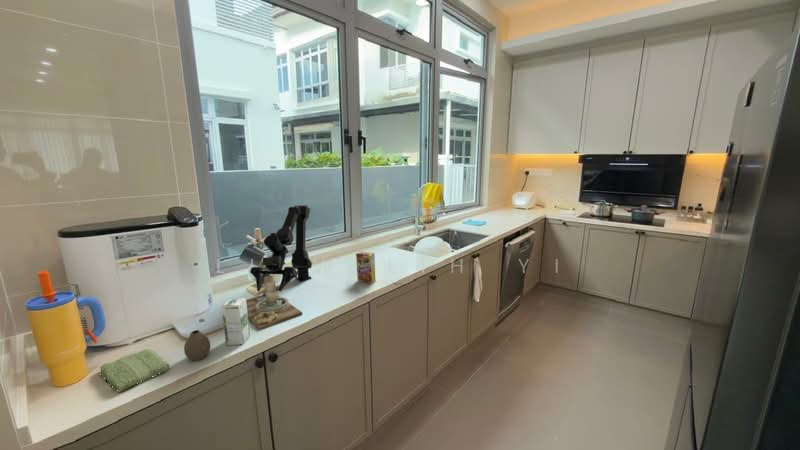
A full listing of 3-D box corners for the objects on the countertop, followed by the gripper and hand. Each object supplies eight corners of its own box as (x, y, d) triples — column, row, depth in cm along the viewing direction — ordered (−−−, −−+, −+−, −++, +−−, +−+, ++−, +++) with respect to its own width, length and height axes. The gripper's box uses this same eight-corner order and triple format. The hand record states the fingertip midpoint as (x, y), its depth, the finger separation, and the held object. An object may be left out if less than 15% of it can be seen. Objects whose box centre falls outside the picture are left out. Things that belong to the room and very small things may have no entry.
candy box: (356, 281, 159) (355, 253, 156) (361, 278, 163) (360, 251, 160) (371, 284, 155) (370, 255, 152) (375, 281, 159) (374, 252, 156)
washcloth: (151, 352, 101) (149, 343, 101) (172, 371, 92) (171, 361, 91) (97, 374, 91) (94, 364, 90) (115, 398, 81) (112, 387, 80)
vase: (216, 352, 99) (213, 328, 98) (196, 365, 93) (192, 339, 91) (201, 349, 102) (197, 324, 100) (180, 361, 95) (176, 335, 94)
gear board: (234, 305, 134) (233, 298, 133) (273, 293, 145) (272, 287, 145) (258, 330, 113) (258, 322, 112) (302, 314, 124) (301, 307, 124)
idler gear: (263, 303, 132) (260, 275, 130) (282, 301, 135) (280, 273, 132) (261, 312, 125) (257, 282, 122) (281, 309, 127) (278, 279, 124)
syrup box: (233, 336, 109) (228, 298, 106) (250, 335, 109) (246, 297, 106) (226, 346, 103) (220, 305, 100) (244, 344, 104) (239, 304, 101)
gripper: (249, 248, 129) (237, 283, 121) (292, 248, 128) (283, 283, 120) (260, 260, 139) (250, 293, 130) (301, 260, 137) (293, 294, 129)
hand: (268, 291), depth 127 cm, fingers open, 9 cm apart
